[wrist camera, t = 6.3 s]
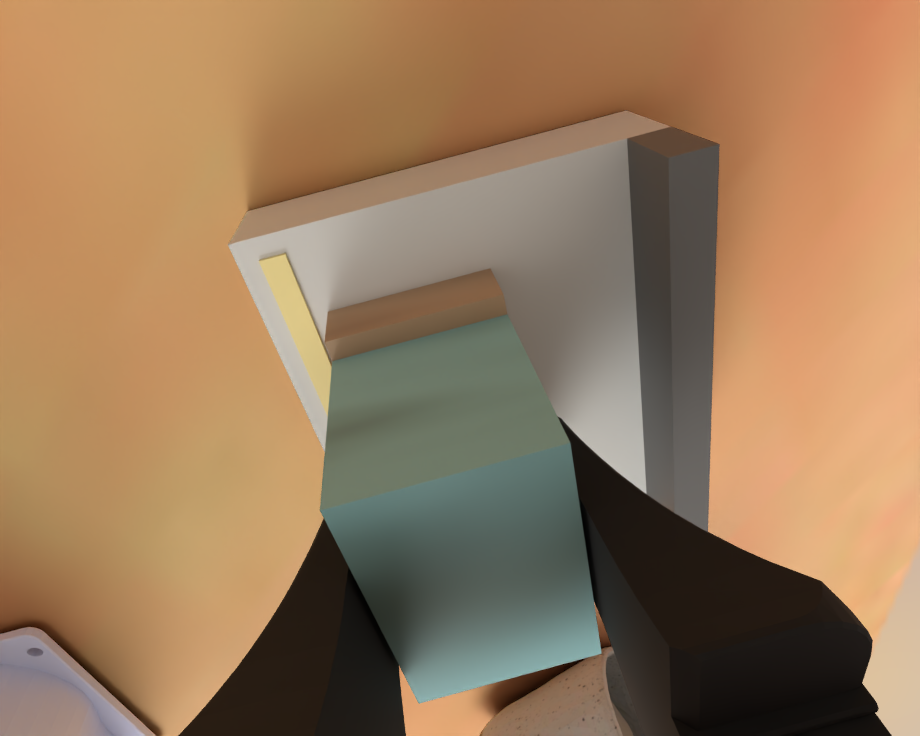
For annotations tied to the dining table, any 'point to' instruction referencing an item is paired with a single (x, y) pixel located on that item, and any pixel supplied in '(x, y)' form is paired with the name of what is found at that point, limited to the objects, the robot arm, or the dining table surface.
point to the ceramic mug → (573, 704)
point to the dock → (532, 279)
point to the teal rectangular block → (454, 489)
